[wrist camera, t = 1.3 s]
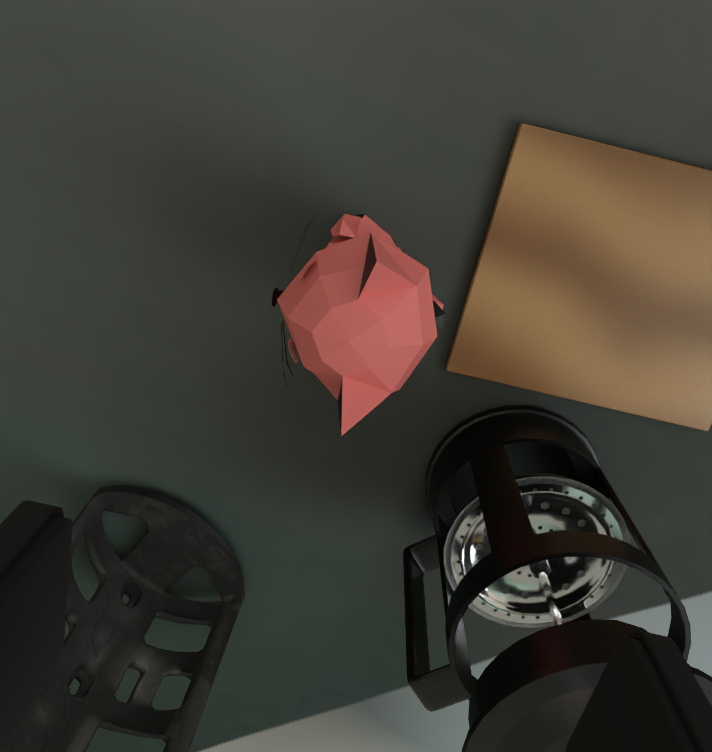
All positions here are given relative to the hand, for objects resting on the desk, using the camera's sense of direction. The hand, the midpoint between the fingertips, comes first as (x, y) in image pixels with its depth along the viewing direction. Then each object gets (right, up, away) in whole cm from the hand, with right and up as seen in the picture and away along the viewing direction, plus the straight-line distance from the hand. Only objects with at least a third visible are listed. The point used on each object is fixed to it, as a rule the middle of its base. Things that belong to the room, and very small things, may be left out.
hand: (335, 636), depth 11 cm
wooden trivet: (+13, +9, +20) cm, 26 cm away
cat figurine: (+1, +10, +21) cm, 23 cm away
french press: (+8, -2, +25) cm, 26 cm away
